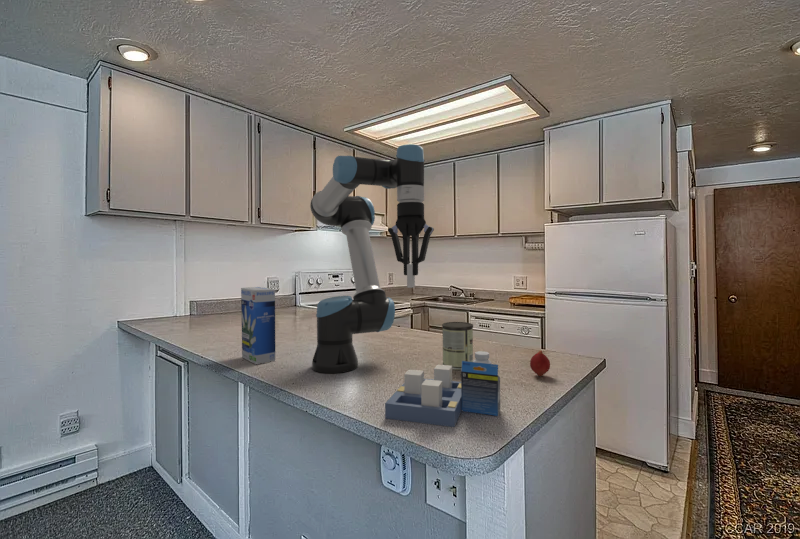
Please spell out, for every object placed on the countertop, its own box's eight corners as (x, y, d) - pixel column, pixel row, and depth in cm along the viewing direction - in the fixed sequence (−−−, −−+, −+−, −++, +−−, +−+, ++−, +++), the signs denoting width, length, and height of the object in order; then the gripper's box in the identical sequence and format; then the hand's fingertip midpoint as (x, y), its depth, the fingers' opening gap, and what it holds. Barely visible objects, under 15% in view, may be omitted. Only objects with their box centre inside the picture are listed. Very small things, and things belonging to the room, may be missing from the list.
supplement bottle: (468, 385, 113) (468, 351, 112) (484, 382, 115) (484, 349, 114) (479, 391, 108) (479, 356, 107) (495, 388, 110) (495, 354, 109)
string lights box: (241, 357, 144) (239, 287, 143) (261, 354, 150) (260, 286, 149) (256, 365, 135) (254, 290, 134) (277, 360, 140) (275, 288, 139)
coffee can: (442, 361, 138) (442, 321, 137) (471, 362, 137) (471, 321, 136) (442, 369, 128) (442, 326, 127) (474, 370, 127) (474, 327, 126)
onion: (526, 376, 121) (526, 350, 120) (534, 372, 125) (535, 347, 124) (545, 380, 117) (545, 353, 116) (553, 375, 121) (553, 350, 120)
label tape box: (500, 410, 94) (500, 360, 94) (498, 417, 90) (498, 364, 90) (464, 405, 98) (464, 356, 97) (460, 411, 94) (460, 360, 93)
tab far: (434, 391, 102) (433, 368, 101) (437, 386, 105) (437, 364, 105) (449, 393, 100) (449, 369, 100) (452, 388, 104) (452, 365, 104)
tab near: (421, 410, 89) (421, 384, 89) (425, 404, 93) (425, 379, 93) (438, 412, 88) (438, 386, 88) (442, 406, 92) (442, 380, 92)
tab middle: (404, 398, 97) (404, 374, 97) (409, 392, 101) (408, 369, 101) (420, 399, 96) (420, 375, 96) (424, 394, 100) (424, 370, 100)
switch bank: (385, 418, 90) (385, 402, 90) (409, 389, 109) (409, 376, 109) (454, 427, 85) (454, 410, 85) (467, 395, 104) (467, 381, 104)
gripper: (383, 201, 108) (384, 287, 109) (430, 199, 104) (430, 288, 105) (392, 205, 115) (393, 285, 116) (436, 203, 111) (436, 286, 112)
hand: (411, 287), depth 110 cm, fingers closed
